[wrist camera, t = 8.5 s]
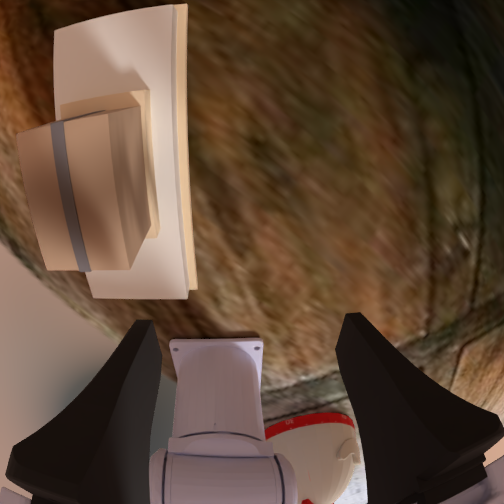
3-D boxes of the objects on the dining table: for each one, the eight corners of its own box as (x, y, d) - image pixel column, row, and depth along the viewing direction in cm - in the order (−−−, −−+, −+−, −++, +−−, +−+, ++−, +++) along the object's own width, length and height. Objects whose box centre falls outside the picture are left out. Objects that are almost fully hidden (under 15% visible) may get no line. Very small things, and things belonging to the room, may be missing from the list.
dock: (188, 6, 13) (182, -5, 11) (197, 284, 22) (195, 304, 20) (65, 29, 12) (48, 25, 10) (98, 285, 22) (89, 303, 20)
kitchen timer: (293, 459, 42) (306, 536, 29) (235, 440, 36) (242, 538, 23) (367, 425, 38) (393, 510, 25) (321, 401, 32) (349, 515, 19)
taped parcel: (160, 228, 17) (137, 286, 13) (88, 231, 17) (48, 284, 12) (150, 89, 13) (111, 91, 9) (70, 102, 13) (10, 116, 8)
